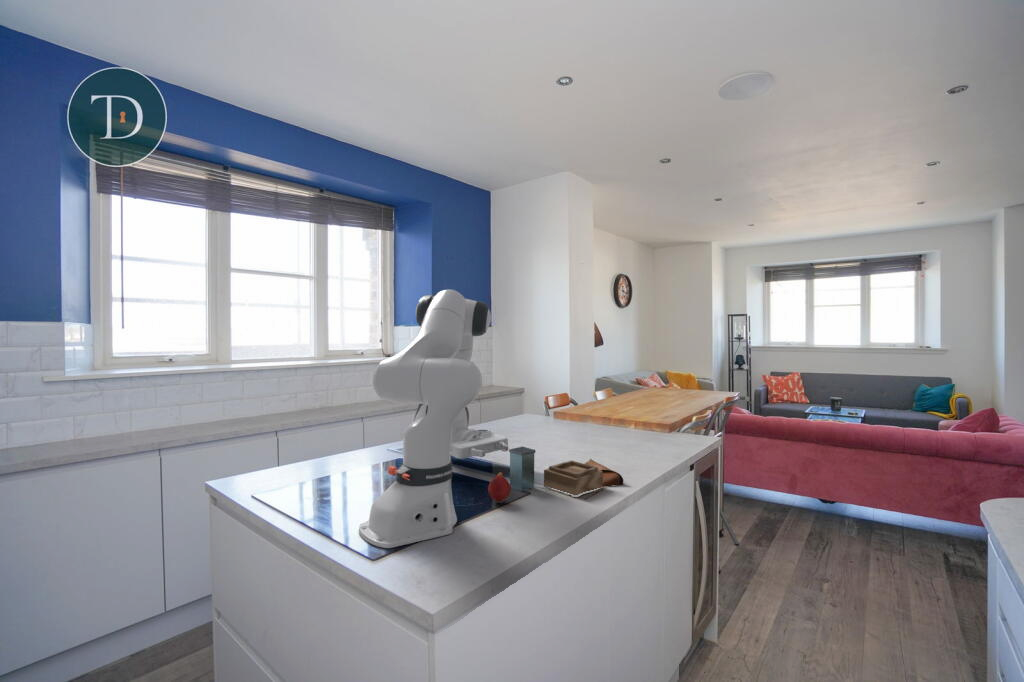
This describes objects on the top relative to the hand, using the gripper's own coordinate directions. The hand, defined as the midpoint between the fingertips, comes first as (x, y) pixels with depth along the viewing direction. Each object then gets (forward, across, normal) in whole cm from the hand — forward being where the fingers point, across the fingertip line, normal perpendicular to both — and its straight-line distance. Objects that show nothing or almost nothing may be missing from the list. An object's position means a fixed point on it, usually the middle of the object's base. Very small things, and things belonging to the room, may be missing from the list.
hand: (495, 451), depth 146 cm
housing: (+12, 0, +8) cm, 15 cm away
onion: (+17, -13, +8) cm, 23 cm away
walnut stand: (+22, +11, +8) cm, 26 cm away
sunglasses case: (+21, +24, +9) cm, 33 cm away
